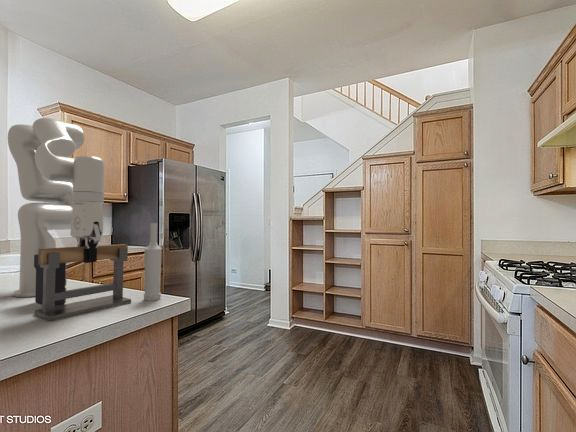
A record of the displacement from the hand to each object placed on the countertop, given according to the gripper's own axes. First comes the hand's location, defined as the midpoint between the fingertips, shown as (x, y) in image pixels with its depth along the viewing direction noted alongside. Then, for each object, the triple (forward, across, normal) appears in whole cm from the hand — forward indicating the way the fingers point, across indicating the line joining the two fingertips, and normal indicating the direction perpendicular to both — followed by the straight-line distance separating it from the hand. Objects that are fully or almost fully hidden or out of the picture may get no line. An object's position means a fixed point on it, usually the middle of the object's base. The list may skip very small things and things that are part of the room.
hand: (87, 261), depth 87 cm
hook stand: (+14, 0, 0) cm, 14 cm away
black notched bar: (+14, -14, -4) cm, 20 cm away
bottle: (+14, +6, +17) cm, 23 cm away
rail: (0, 0, 0) cm, 0 cm away
